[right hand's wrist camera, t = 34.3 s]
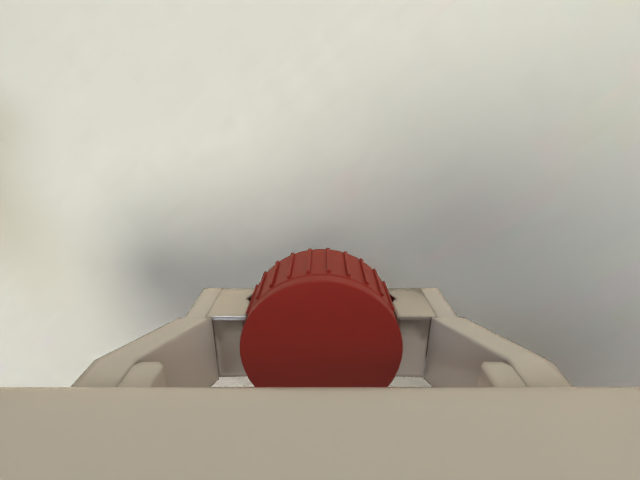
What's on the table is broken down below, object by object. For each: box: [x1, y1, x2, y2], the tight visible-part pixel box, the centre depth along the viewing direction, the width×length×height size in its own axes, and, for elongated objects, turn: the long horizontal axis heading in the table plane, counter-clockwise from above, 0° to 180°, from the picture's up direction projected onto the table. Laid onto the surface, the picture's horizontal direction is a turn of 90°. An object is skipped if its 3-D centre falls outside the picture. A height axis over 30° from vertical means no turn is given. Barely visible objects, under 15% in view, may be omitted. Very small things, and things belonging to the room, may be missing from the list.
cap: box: [240, 248, 403, 387], centre depth 9 cm, size 4×4×2 cm
